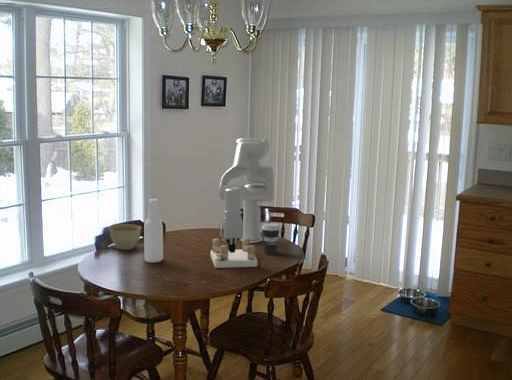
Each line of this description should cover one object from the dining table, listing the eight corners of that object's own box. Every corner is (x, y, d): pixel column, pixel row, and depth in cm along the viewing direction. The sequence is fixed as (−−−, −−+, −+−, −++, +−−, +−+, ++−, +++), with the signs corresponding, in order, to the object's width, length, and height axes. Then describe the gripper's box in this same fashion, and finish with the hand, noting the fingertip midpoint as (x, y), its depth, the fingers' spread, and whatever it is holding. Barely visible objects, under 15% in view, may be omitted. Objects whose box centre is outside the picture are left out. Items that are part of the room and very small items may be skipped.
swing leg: (213, 254, 284) (213, 242, 283) (220, 254, 286) (220, 241, 285) (222, 260, 275) (222, 247, 274) (229, 259, 277) (229, 246, 276)
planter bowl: (137, 252, 298) (137, 231, 297) (106, 251, 299) (105, 230, 297) (144, 244, 314) (144, 224, 313) (114, 243, 315) (113, 223, 313)
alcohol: (161, 257, 290) (161, 197, 285) (164, 262, 282) (163, 200, 277) (143, 258, 288) (142, 198, 283) (145, 263, 279) (145, 201, 274)
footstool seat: (210, 256, 294) (210, 249, 293) (249, 254, 298) (250, 248, 297) (215, 267, 274) (215, 261, 274) (257, 266, 278) (257, 259, 278)
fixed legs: (212, 250, 293) (212, 238, 292) (248, 249, 296) (249, 237, 295) (216, 261, 275) (216, 248, 274) (255, 259, 278) (255, 247, 277)
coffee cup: (257, 254, 300) (258, 225, 297) (266, 249, 308) (266, 221, 305) (274, 256, 295) (275, 227, 293) (282, 252, 304) (283, 223, 301)
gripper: (242, 211, 283) (241, 248, 286) (214, 214, 276) (214, 252, 279) (250, 214, 277) (249, 252, 280) (221, 217, 269) (221, 256, 272)
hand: (232, 252), depth 279 cm, fingers closed
